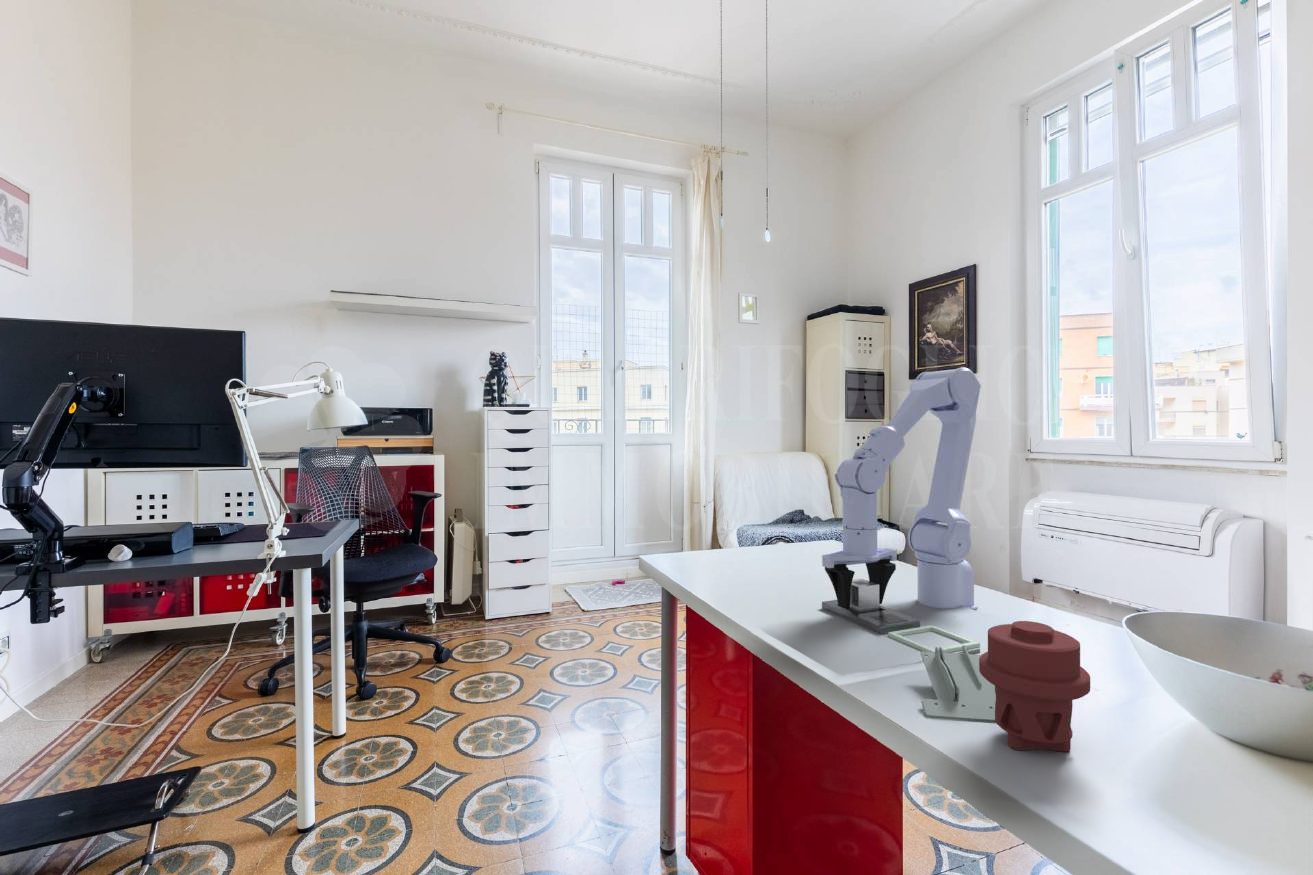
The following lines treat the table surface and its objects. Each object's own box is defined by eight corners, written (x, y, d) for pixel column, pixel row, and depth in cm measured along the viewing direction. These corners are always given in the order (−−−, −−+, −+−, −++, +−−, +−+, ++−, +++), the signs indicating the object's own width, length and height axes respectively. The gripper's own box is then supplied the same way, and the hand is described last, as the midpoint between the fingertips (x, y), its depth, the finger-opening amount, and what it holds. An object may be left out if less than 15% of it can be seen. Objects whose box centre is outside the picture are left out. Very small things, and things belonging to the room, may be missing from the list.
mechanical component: (1112, 754, 62) (1047, 777, 58) (1020, 712, 71) (958, 730, 67) (1112, 633, 62) (1047, 648, 58) (1020, 607, 71) (958, 619, 67)
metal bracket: (904, 635, 82) (1025, 641, 79) (901, 671, 84) (1020, 678, 81) (930, 711, 69) (1078, 722, 66) (927, 753, 70) (1070, 765, 68)
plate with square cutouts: (857, 608, 113) (857, 596, 113) (920, 633, 99) (920, 619, 99) (821, 613, 110) (821, 601, 110) (881, 640, 96) (880, 626, 96)
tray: (932, 634, 98) (931, 625, 98) (980, 653, 90) (980, 642, 90) (888, 641, 95) (888, 632, 95) (933, 662, 87) (933, 651, 87)
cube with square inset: (862, 609, 109) (861, 578, 109) (879, 616, 105) (879, 584, 105) (841, 612, 107) (841, 580, 107) (858, 619, 103) (858, 586, 103)
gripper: (840, 533, 99) (841, 616, 100) (909, 527, 105) (910, 606, 105) (814, 527, 106) (815, 605, 106) (880, 522, 111) (880, 595, 112)
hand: (860, 604), depth 106 cm, fingers open, 6 cm apart
